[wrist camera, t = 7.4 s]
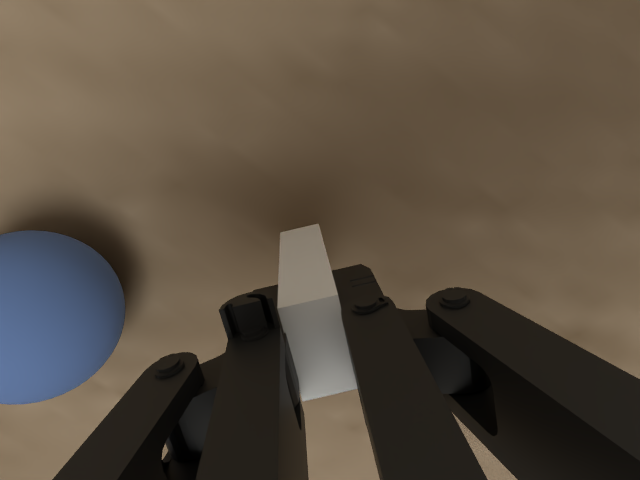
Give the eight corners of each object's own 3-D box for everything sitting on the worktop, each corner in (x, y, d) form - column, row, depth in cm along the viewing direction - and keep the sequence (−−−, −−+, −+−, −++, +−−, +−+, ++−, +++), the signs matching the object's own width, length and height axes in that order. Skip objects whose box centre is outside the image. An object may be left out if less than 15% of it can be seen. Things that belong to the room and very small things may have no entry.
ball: (-104, 254, 16) (79, 213, 19) (-44, 404, 17) (117, 339, 21) (-123, 268, 11) (120, 211, 15) (-39, 473, 12) (167, 374, 16)
